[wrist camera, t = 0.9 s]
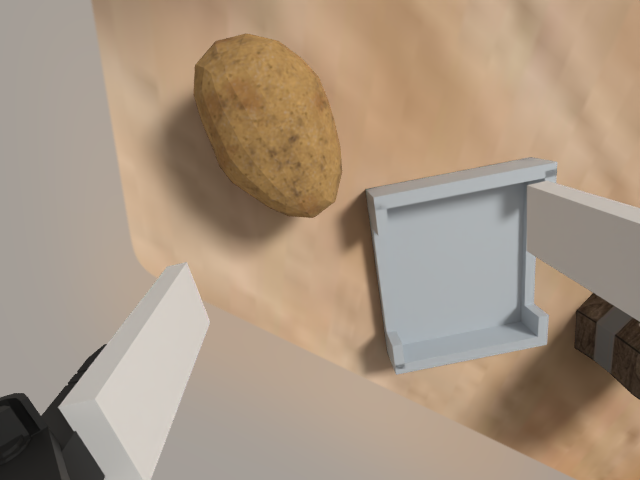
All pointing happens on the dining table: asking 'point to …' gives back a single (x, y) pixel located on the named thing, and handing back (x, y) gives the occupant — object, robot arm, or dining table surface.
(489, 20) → the dining table surface
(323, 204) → the potato
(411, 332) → the light blue shallow tray
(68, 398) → the robot arm
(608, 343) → the mug
